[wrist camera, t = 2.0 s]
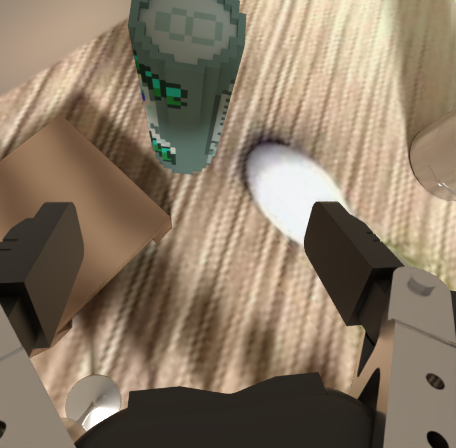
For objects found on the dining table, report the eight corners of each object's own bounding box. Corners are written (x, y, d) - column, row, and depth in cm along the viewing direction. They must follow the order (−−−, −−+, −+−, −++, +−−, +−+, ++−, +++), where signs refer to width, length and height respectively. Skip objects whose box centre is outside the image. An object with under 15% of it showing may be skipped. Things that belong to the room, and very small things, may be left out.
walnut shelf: (80, 142, 29) (60, 114, 24) (171, 228, 29) (170, 216, 24) (-50, 248, 26) (-103, 240, 21) (53, 346, 25) (23, 361, 21)
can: (157, 113, 31) (137, -38, 16) (216, 121, 32) (247, -16, 17) (151, 170, 30) (122, 60, 15) (213, 176, 30) (243, 78, 16)
